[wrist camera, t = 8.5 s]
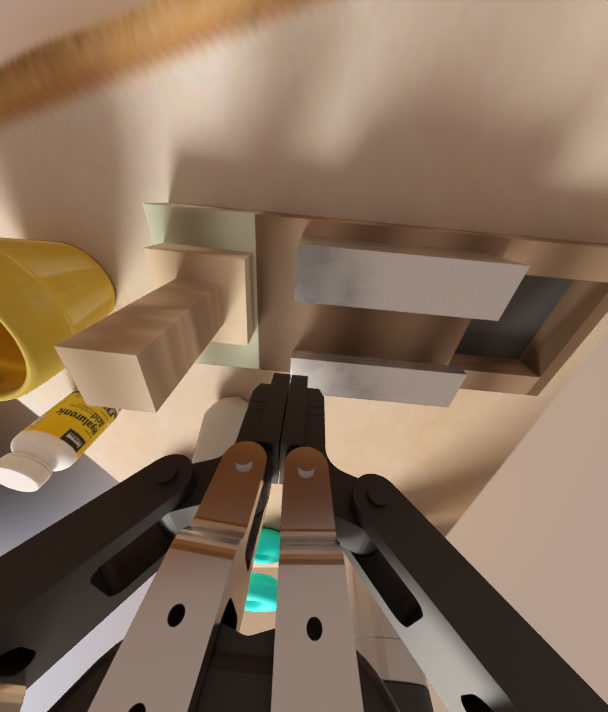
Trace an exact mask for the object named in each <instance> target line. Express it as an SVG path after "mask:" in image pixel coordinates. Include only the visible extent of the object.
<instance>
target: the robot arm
mask: <svg viewBox="0 0 608 712" xmlns="http://www.w3.org/2000/svg"><path fill="white" fill-rule="evenodd" d="M290 380H291V383H290ZM307 386H308V376H302V375H292V377H291V374H280V373H274V375H273V379H272V382H271V384H262V383H261V384H260V385H259V386H258V387H257V388H256V389H255V390H254V391H253V393H252V396H251V399H250V402H249V405H248V407H247V410H246V413H245V416H244V419H243V422H242V425H241V428H240V430H239V433H238V436H237V439H236V441H235V443H234V445H232V446H231V447H230V448H229V449H227V451H226V452H225V453H224V454H223V455H222V456H220V457H217V458H215V459H211V460H207V461H202V462H197V463H192V462H191V461H190V459H189V458H187V457H186V456H183V455H179V454H173V455H168V456H165V457H162V458H160V459H158V460H156V461H155V462H153V463H151V464H150V465H148V466H147V467H145V468H143V469H142V470H140V471H138V472H137V473H135V474H134V475H132V476H130V477H129V478H127V479H126V480H124V481H122V482H121V483H119V484H117V485H116V486H114V487H113V488H111V489H109V490H108V491H106V492H104V493H103V494H101V495H100V496H98V497H96V498H95V499H93V500H92V501H90V502H88V503H87V504H85V505H83V506H82V507H80V508H79V509H77V510H75V511H74V512H72V513H71V514H69V515H67V516H66V517H64V518H62V519H61V520H59V521H58V522H56V523H54V524H53V525H51V526H50V527H48V528H46V529H45V530H43V531H41V532H40V533H39V534H36V535H35V536H33V537H32V538H30V539H29V540H27V541H25V542H24V543H22V544H20V545H19V546H17V547H16V548H14V549H12V550H11V551H9V552H7V553H6V554H4V555H2V556H1V557H0V712H20V709H21V706H22V704H23V700H24V696H25V691H26V689H27V688H29V687H30V686H31V685H32V684H33V683H34V682H35V681H36V680H37V679H38V678H40V677H41V676H42V675H43V674H44V673H45V672H46V671H47V670H49V669H50V668H51V667H52V666H53V665H54V664H55V663H56V662H57V661H58V660H60V659H61V658H62V657H63V656H64V655H65V654H66V653H67V652H68V651H69V650H71V649H72V648H73V647H74V646H75V645H76V644H77V643H78V642H79V641H80V640H82V639H83V638H84V637H85V636H86V635H87V634H88V633H89V632H90V631H91V630H93V629H94V628H95V627H96V626H97V625H98V624H99V623H100V622H102V621H103V620H104V619H105V618H106V617H107V616H108V615H109V614H110V613H111V612H113V611H114V610H115V609H116V608H117V607H118V606H119V605H120V604H121V603H122V602H124V600H126V599H127V598H128V597H129V596H130V595H131V594H132V593H134V592H135V591H136V590H137V589H138V588H139V587H140V586H141V585H142V584H143V583H144V582H146V581H147V580H148V579H149V578H150V577H151V576H152V575H153V574H155V573H156V572H157V573H156V575H155V577H154V579H153V581H152V583H151V585H150V587H149V589H148V591H147V593H146V595H145V597H144V599H143V601H142V603H141V605H140V607H139V610H138V611H137V613H136V615H135V617H134V619H133V621H132V623H131V625H130V627H129V630H128V631H127V634H126V635H125V637H124V639H123V640H121V641H120V642H119V643H118V644H116V645H115V646H113V647H112V648H111V649H110V650H109V651H108V652H107V653H105V654H104V655H103V656H102V657H101V658H100V659H98V660H97V662H95V663H94V664H93V665H92V666H91V667H90V669H88V670H87V671H86V672H85V673H84V675H82V676H81V678H80V679H79V680H78V681H77V682H76V683H75V684H74V685H73V686H72V687H71V688H70V689H69V690H68V691H67V692H66V693H65V694H64V695H63V696H62V697H61V698H60V699H59V700H58V701H57V702H56V703H55V704H54V705H53V706H52V707H51V708H50V709H49V710H48V711H47V712H433V707H432V703H431V698H430V694H429V690H428V688H427V687H428V686H427V681H426V677H427V679H428V680H429V682H430V683H431V684H432V686H433V688H434V689H435V690H436V692H437V694H438V695H439V697H440V698H441V700H442V701H443V703H444V704H445V706H446V707H447V709H448V710H449V712H608V705H607V704H606V703H605V702H604V701H603V700H602V699H601V698H600V697H599V696H598V695H597V693H595V691H594V690H593V689H592V688H591V687H590V686H589V685H588V684H587V683H586V682H585V681H584V680H583V679H582V678H581V677H580V676H579V675H578V674H577V673H576V672H575V671H574V670H573V669H572V668H571V667H570V666H569V665H568V664H567V663H566V662H565V661H564V660H563V659H562V658H561V657H560V656H559V655H558V653H557V652H556V651H555V650H553V648H552V647H551V646H550V645H549V644H548V643H547V642H546V641H545V640H544V639H543V638H542V637H541V636H540V635H539V634H538V633H537V632H536V631H535V630H534V629H533V628H532V627H531V626H530V625H529V624H528V623H527V622H526V621H525V620H524V619H523V618H522V617H521V616H520V614H519V613H518V612H517V611H515V610H514V608H513V607H512V606H511V605H510V604H509V603H508V602H507V601H506V600H505V599H504V598H503V597H502V596H501V595H500V594H499V593H498V592H497V591H496V590H495V589H494V588H493V587H492V586H491V585H490V584H489V583H488V582H487V581H486V580H485V578H483V577H482V576H481V574H480V573H479V572H478V571H476V569H475V568H474V567H473V566H472V565H471V564H470V563H469V562H468V561H467V560H466V559H465V558H464V557H463V556H462V555H461V554H460V553H459V552H458V551H457V550H456V549H455V548H454V547H453V546H452V545H451V544H450V543H449V542H448V540H446V538H445V537H444V536H443V535H442V534H441V533H440V532H439V531H438V530H437V529H436V528H435V527H434V526H433V525H432V524H431V523H430V522H429V521H428V520H427V519H426V518H425V517H424V516H423V515H422V514H421V513H420V512H419V511H418V510H417V509H416V508H415V507H414V506H413V505H412V504H411V502H410V501H409V500H408V499H407V498H406V497H405V496H404V495H403V494H402V493H401V492H400V491H399V490H398V489H397V488H396V487H395V486H394V485H393V484H392V483H391V482H390V481H388V480H387V479H386V478H384V477H382V476H379V475H376V474H365V475H362V476H361V477H359V478H356V477H354V476H352V475H349V474H347V473H345V472H343V471H341V470H339V469H337V468H336V467H335V466H334V465H333V464H332V463H331V462H330V460H329V459H328V457H327V454H326V450H325V417H324V415H325V414H324V396H323V395H322V393H321V391H320V390H319V389H316V388H307ZM279 470H280V480H279V484H283V493H282V511H281V530H280V549H279V568H278V587H277V605H276V625H275V629H272V630H268V631H265V632H261V633H258V634H255V635H250V636H246V635H243V634H241V633H239V630H240V625H241V621H242V617H243V613H244V609H245V604H246V600H247V594H248V589H249V581H250V575H251V570H252V566H253V561H254V557H255V553H256V549H257V545H258V541H259V537H260V533H261V529H262V525H263V520H264V516H265V512H266V508H267V503H268V499H269V494H270V488H271V483H275V484H278V477H279ZM425 676H426V677H425Z"/></svg>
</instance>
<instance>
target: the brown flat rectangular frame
mask: <svg viewBox="0 0 608 712" xmlns="http://www.w3.org/2000/svg"><path fill="white" fill-rule="evenodd" d="M143 208H144V212H145V216H146V220H147V224H148V228H149V232H150V237H151V241H152V245H156V244H160V243H163V242H164V243H173V244H182V245H190V246H199V247H208V248H216V249H225V250H233V251H242V252H251V253H253V280H254V334H253V336H252V338H251V340H250V342H249V344H248V346H245V345H236V344H228V343H219V342H210V343H209V344H208V345H207V347H206V348H205V349H204V350H203V352H202V353H201V354H200V356H199V357H198V358H197V360H196V361H195V362H194V363H200V364H210V365H220V366H231V367H241V368H252V369H262V370H273V371H283V372H290V365H291V355H292V350H302V351H312V352H323V353H333V354H343V355H354V356H364V357H375V358H385V359H396V360H406V361H417V362H427V363H436V364H443V365H454V366H460V367H461V368H462V369H463V370H464V372H465V373H466V374H467V376H466V378H465V379H464V381H463V383H462V385H461V386H460V388H461V389H471V390H481V391H492V392H502V393H513V394H523V395H534V396H538V394H539V393H540V392H541V391H542V390H543V388H544V387H545V386H546V385H547V384H548V383H549V381H550V380H551V379H552V378H553V377H554V375H555V374H556V373H557V372H558V371H559V369H560V368H561V367H562V366H563V365H564V363H565V362H566V361H567V360H568V359H569V357H570V356H571V355H572V354H573V353H574V351H575V350H576V349H577V348H578V347H579V345H580V344H581V343H582V342H583V341H584V339H585V338H586V337H587V336H588V335H589V333H590V332H591V331H592V330H593V329H594V327H595V326H596V325H597V324H598V323H599V321H600V320H601V319H602V318H603V317H604V315H605V314H606V313H607V312H608V245H605V244H595V243H584V242H574V241H563V240H553V239H542V238H532V237H521V236H511V235H500V234H490V233H479V232H469V231H458V230H448V229H438V228H427V227H417V226H406V225H396V224H385V223H375V222H364V221H354V220H343V219H333V218H322V217H312V216H301V215H291V214H280V213H270V212H259V211H249V210H238V209H228V208H217V207H207V206H196V205H186V204H175V203H143ZM302 235H308V236H318V237H329V238H339V239H350V240H360V241H370V242H381V243H391V244H402V245H412V246H423V247H433V248H444V249H454V250H465V251H475V252H486V253H491V254H494V255H497V256H500V257H503V258H507V259H510V260H513V261H516V262H519V263H522V264H525V265H528V266H530V267H529V269H528V270H527V272H526V274H525V276H524V277H523V279H522V281H521V282H520V284H519V286H518V288H517V289H516V291H515V293H514V295H513V296H512V298H511V300H510V301H509V303H508V305H507V307H506V308H505V310H504V312H503V314H502V315H501V317H500V319H499V321H494V320H483V319H473V318H462V317H452V316H441V315H431V314H420V313H410V312H399V311H389V310H378V309H368V308H358V307H347V306H337V305H326V304H316V303H305V302H295V301H294V297H295V281H296V264H297V247H298V242H299V240H300V238H301V236H302Z"/></svg>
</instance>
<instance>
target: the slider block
mask: <svg viewBox="0 0 608 712" xmlns="http://www.w3.org/2000/svg"><path fill="white" fill-rule="evenodd" d="M144 252H145V256H146V260H147V264H148V268H149V272H150V276H151V280H152V284H153V288H154V291H152V292H151V293H149V294H147V295H145V296H143V297H142V298H140V299H138V300H136V301H134V302H133V303H131V304H129V305H127V306H125V307H124V308H122V309H120V310H118V311H116V312H115V313H113V314H111V315H109V316H107V317H106V318H104V319H102V320H100V321H98V322H97V323H95V324H93V325H91V326H89V327H88V328H86V329H84V330H82V331H81V332H79V333H77V334H75V335H73V336H72V337H70V338H68V339H66V340H64V341H63V342H61V343H59V344H57V345H55V346H54V347H55V349H56V351H57V353H58V354H59V356H60V358H61V360H62V362H63V363H64V365H65V367H66V369H67V371H68V372H69V374H70V376H71V378H72V379H73V381H74V383H75V385H76V387H77V388H78V390H79V392H80V394H81V395H82V397H83V399H84V401H85V403H86V404H87V405H90V406H99V407H108V408H118V409H127V410H136V411H145V412H154V413H156V412H157V411H158V410H159V408H160V407H161V406H162V404H163V403H164V402H165V400H166V399H167V398H168V396H169V395H170V394H171V393H172V391H173V390H174V389H175V387H176V386H177V385H178V383H179V382H180V381H181V379H182V378H183V377H184V375H185V374H186V373H187V372H188V370H189V369H190V368H191V366H192V365H193V364H194V362H195V361H196V360H197V358H198V357H199V356H200V354H201V353H202V352H203V350H204V349H205V348H206V347H207V345H208V344H209V343H210V342H219V343H228V344H236V345H245V346H248V344H249V342H250V340H251V338H252V336H253V334H254V280H253V253H251V252H242V251H233V250H225V249H216V248H208V247H199V246H190V245H182V244H173V243H164V242H163V243H160V244H156V245H153V246H149V247H146V248H144Z"/></svg>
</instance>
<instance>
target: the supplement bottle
mask: <svg viewBox="0 0 608 712" xmlns="http://www.w3.org/2000/svg"><path fill="white" fill-rule="evenodd" d="M118 414H119V409H118V408H108V407H99V406H90V405H87V404H86V403H85V401H84V399H83V397H82V395H81V394H80V392H79V390H78V389H77V390H75V391H74V392H72V393H71V394H69V395H68V396H67V397H66V398H64V399H63V400H62V401H60V402H59V403H58V404H56V405H55V406H54V407H53V408H51V409H50V410H49V411H47V412H46V413H45V414H43V415H42V416H41V417H40V418H38V419H37V420H36V421H34V422H33V423H32V424H31V425H29V426H28V427H27V428H25V429H24V430H23V431H22V432H20V433H19V434H18V435H17V436H16V437H15V438H14V439H13V440H12V442H11V451H12V453H8V454H6V455H5V456H4V457H2V458H1V459H0V484H2V485H4V486H6V487H9V488H11V489H15V490H18V491H24V492H33V491H36V490H38V489H39V488H40V487H41V486H42V485H43V484H44V483H45V482H46V481H47V480H48V479H49V478H50V476H51V475H52V471H60V470H63V469H66V468H68V467H69V466H71V465H72V464H73V463H74V462H75V461H76V460H77V459H78V458H79V457H80V456H81V455H82V454H83V453H84V452H85V450H86V449H87V448H88V447H89V446H90V445H91V444H92V443H93V442H94V441H95V440H96V439H97V438H98V437H99V436H100V435H101V434H102V433H103V432H104V430H105V429H106V428H107V427H108V426H109V425H110V424H111V423H112V422H113V421H114V420H115V418H116V417H117V416H118Z"/></svg>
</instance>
